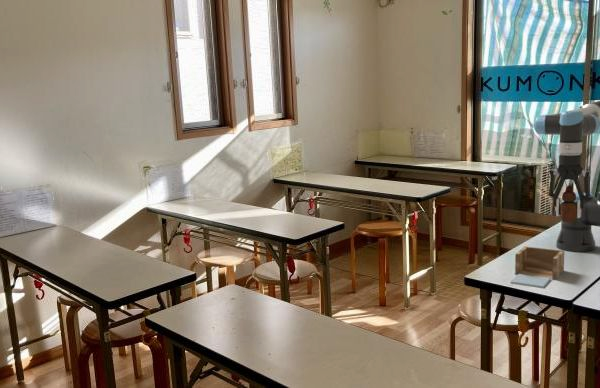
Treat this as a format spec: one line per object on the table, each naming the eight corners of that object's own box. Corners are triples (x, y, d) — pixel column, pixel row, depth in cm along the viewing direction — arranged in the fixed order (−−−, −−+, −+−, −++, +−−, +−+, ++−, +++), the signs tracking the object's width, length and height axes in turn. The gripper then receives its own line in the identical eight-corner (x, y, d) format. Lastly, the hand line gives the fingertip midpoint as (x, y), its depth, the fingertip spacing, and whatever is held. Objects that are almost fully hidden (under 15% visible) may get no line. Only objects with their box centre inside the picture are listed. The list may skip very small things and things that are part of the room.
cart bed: (524, 269, 225) (524, 246, 223) (563, 274, 217) (564, 250, 215) (514, 278, 215) (514, 254, 213) (555, 284, 207) (556, 259, 205)
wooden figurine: (579, 223, 214) (580, 182, 211) (562, 223, 215) (563, 182, 212) (574, 219, 220) (575, 179, 218) (558, 219, 221) (559, 180, 219)
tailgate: (518, 273, 213) (510, 281, 205) (550, 278, 207) (543, 286, 199) (518, 276, 213) (510, 284, 205) (550, 281, 207) (543, 289, 199)
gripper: (539, 154, 216) (538, 216, 220) (598, 155, 205) (595, 220, 208) (544, 152, 222) (543, 212, 226) (601, 153, 211) (599, 216, 214)
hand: (568, 216), depth 217 cm, fingers closed on wooden figurine, 6 cm apart
